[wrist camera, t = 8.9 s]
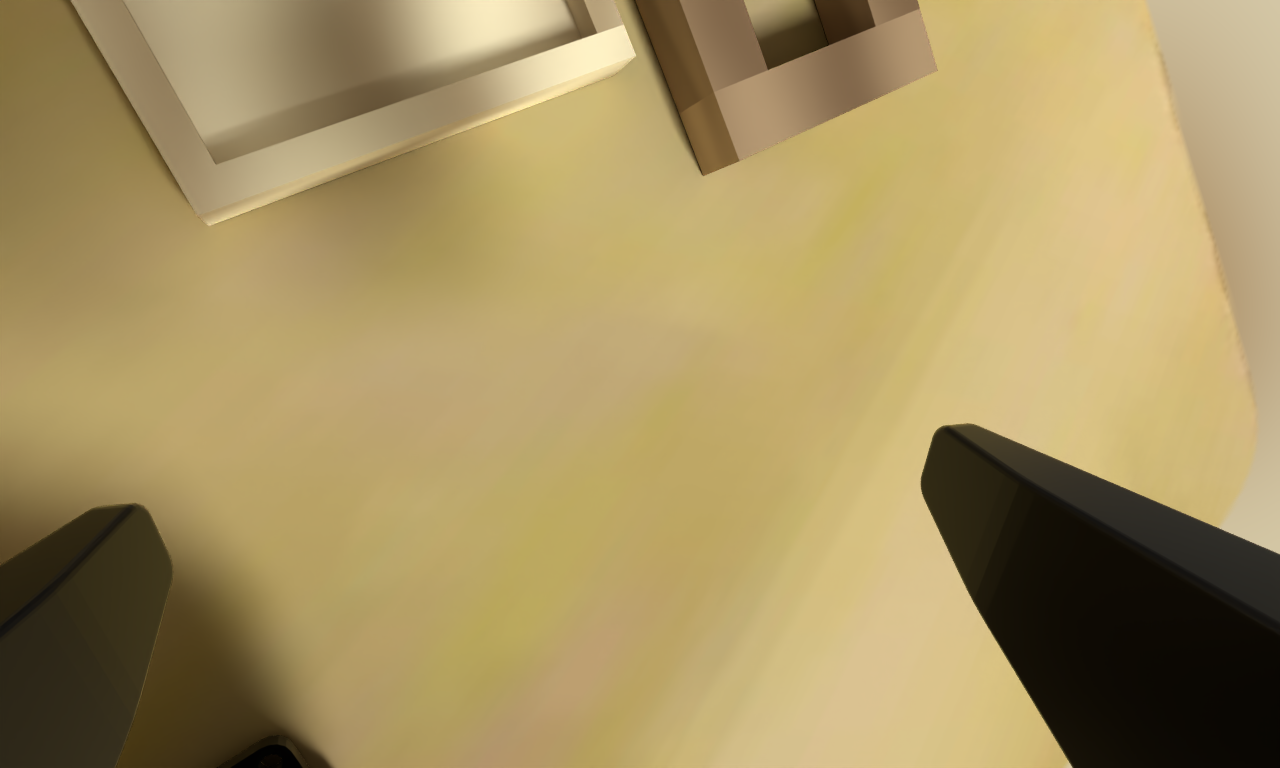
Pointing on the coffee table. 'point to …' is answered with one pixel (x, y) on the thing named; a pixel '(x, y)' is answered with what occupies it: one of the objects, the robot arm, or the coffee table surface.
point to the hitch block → (778, 70)
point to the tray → (335, 80)
